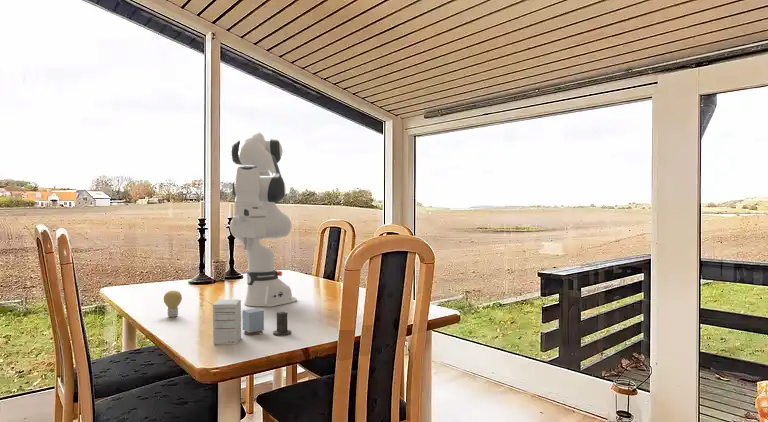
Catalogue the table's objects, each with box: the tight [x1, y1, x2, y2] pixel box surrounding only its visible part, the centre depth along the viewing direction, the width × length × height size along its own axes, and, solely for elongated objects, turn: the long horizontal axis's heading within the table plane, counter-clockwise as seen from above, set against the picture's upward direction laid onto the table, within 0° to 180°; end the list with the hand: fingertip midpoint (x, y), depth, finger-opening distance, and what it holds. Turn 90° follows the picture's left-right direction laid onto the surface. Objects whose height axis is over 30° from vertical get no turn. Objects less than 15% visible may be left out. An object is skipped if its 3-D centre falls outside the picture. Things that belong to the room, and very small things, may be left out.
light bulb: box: [163, 289, 183, 318], centre depth 189 cm, size 6×6×10 cm
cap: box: [242, 307, 265, 333], centre depth 166 cm, size 5×5×7 cm
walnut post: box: [243, 330, 264, 336], centre depth 166 cm, size 6×6×7 cm
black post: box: [272, 311, 292, 337], centre depth 165 cm, size 6×6×7 cm
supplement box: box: [212, 299, 242, 345], centre depth 156 cm, size 7×7×13 cm
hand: (248, 250), depth 172 cm, fingers closed
